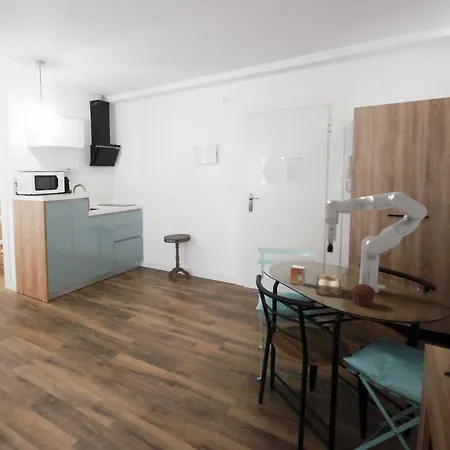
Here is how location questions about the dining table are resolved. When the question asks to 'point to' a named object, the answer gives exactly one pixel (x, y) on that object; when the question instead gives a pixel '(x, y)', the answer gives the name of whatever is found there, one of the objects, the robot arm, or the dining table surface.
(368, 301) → the muffin
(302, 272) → the small box
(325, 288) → the walnut box
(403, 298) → the dining table surface
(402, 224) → the robot arm
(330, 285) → the lid
